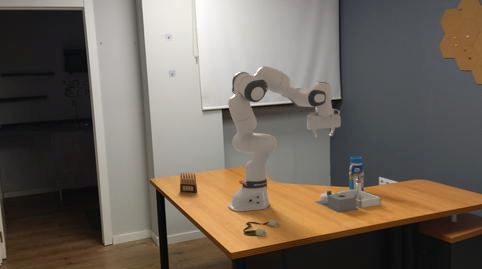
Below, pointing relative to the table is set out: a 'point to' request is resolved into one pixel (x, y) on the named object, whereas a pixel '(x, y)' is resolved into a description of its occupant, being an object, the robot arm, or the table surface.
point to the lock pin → (358, 189)
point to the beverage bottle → (356, 173)
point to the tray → (369, 198)
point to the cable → (261, 231)
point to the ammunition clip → (188, 183)
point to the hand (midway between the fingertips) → (323, 136)
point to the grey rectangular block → (338, 201)
